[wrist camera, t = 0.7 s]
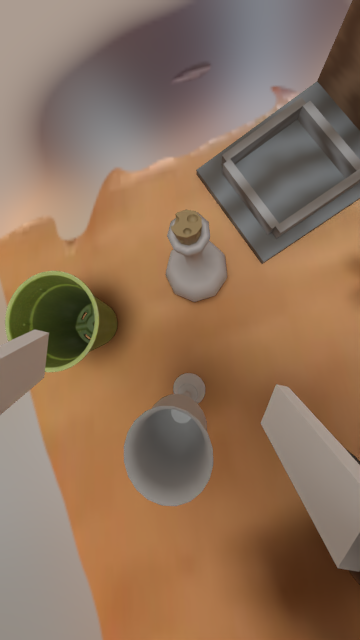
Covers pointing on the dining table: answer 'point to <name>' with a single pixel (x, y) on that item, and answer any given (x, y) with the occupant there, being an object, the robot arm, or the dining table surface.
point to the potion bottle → (194, 258)
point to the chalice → (171, 446)
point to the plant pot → (60, 317)
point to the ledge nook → (296, 156)
